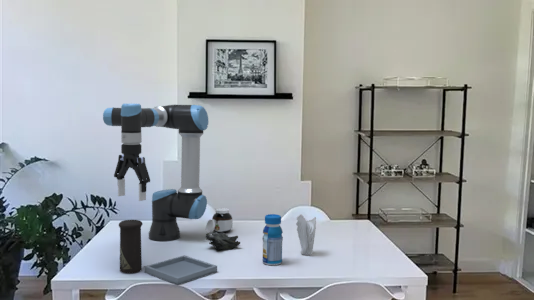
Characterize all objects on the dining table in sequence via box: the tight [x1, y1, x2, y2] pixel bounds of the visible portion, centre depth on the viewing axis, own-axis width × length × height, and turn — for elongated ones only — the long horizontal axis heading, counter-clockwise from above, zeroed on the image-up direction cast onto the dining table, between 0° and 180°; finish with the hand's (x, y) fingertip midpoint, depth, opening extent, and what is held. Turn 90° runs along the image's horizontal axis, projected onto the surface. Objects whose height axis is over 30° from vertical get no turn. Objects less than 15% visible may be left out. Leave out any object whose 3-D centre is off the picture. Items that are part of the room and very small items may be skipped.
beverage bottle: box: [262, 213, 284, 266], centre depth 218 cm, size 8×8×20 cm
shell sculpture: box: [296, 214, 317, 256], centre depth 231 cm, size 8×8×18 cm
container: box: [118, 219, 143, 274], centre depth 205 cm, size 9×9×20 cm
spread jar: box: [205, 207, 234, 234], centre depth 266 cm, size 12×11×12 cm
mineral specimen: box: [205, 232, 241, 251], centre depth 238 cm, size 15×13×10 cm
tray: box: [143, 255, 218, 286], centre depth 205 cm, size 20×20×2 cm
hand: (131, 198), depth 204 cm, fingers open, 13 cm apart
